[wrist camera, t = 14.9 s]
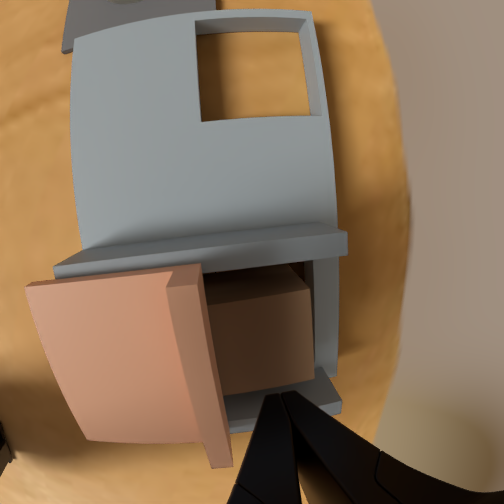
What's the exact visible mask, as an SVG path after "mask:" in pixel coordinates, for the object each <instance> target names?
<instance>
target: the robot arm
mask: <svg viewBox="0 0 504 504" xmlns="http://www.w3.org/2000/svg"><path fill="white" fill-rule="evenodd" d="M12 460H13V459H12V456H11V453H10V451H9V448H8V445H7V442H6V439H5V435H4V432H3V429H2V425H1V423H0V476H1V475H2V473H3V471H4V469H5V467H6V465H7V463H8V462H9V463H11V462H12ZM299 481H300V484H301V486H302V489H303V491H304V494H305V496H306V498H307V501H308V503H309V504H504V490H503V491H496V492H485V493H484V492H474V491H469V490H466V489H463V488H460V487H457V486H454V485H452V484H449V483H446V482H444V481H441V480H438V479H436V478H434V477H431V476H429V475H426V474H424V473H422V472H420V471H417V470H415V469H413V468H411V467H409V466H407V465H405V464H404V463H402V462H400V461H398V460H396V459H395V458H393V457H391V456H390V455H388V454H387V453H385V452H384V451H380V449H379V448H377V447H376V446H374V445H373V444H371V443H369V442H368V441H366V440H365V439H363V438H362V437H360V436H359V435H357V434H356V433H355V432H353V431H352V430H350V429H349V428H347V427H346V426H344V425H343V424H341V423H340V422H339V421H337V420H336V419H334V418H333V417H332V416H330V415H329V414H327V413H326V412H325V411H323V410H322V409H320V408H319V407H318V406H316V405H315V404H314V403H312V402H311V401H310V400H308V399H307V398H305V397H304V396H303V395H301V394H300V393H299V392H298V391H296V390H290V391H285V392H282V393H281V394H280V393H273V394H267V395H265V396H264V399H263V402H262V405H261V408H260V411H259V415H258V418H257V421H256V424H255V427H254V430H253V433H252V436H251V439H250V442H249V445H248V448H247V450H246V453H245V456H244V459H243V462H242V465H241V468H240V470H239V473H238V476H237V479H236V482H235V483H236V484H234V486H233V489H232V492H231V494H230V497H229V499H228V502H227V504H302V501H301V493H300V485H299Z"/></svg>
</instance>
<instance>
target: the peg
mask: <svg viewBox="0 0 504 504" xmlns="http://www.w3.org/2000/svg"><path fill="white" fill-rule="evenodd" d="M108 1H109V2H112V3H115V4H131V3H136V2H140V1H143V0H108Z"/></svg>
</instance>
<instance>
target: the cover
mask: <svg viewBox="0 0 504 504" xmlns="http://www.w3.org/2000/svg"><path fill="white" fill-rule="evenodd" d="M24 288H25V292H26V296H27V300H28V303H29V306H30V310H31V313H32V316H33V320H34V323H35V326H36V329H37V332H38V335H39V337H40V340H41V343H42V346H43V348H44V351H45V354H46V356H47V359H48V361H49V364H50V366H51V369H52V371H53V373H54V376H55V378H56V380H57V382H58V385H59V387H60V389H61V391H62V393H63V395H64V398H65V400H66V402H67V404H68V406H69V408H70V410H71V412H72V414H73V415H74V417H75V419H76V421H77V423H78V425H79V427H80V428H81V430H82V432H83V434H84V435H85V437H86V439H87V440H91V441H102V442H116V443H141V444H171V443H196V442H203V444H204V447H205V450H206V453H207V456H208V459H209V462H210V465H211V468H212V469H214V468H226V467H233V458H232V449H231V439H230V429H229V424H228V420H227V415H226V410H225V405H224V400H223V395H222V390H221V384H220V379H219V374H218V368H217V363H216V357H215V351H214V346H213V340H212V334H211V328H210V322H209V315H208V309H207V302H206V296H205V289H204V282H203V275H202V268H201V263H197V264H188V265H180V266H171V267H162V268H153V269H145V270H136V271H127V272H118V273H109V274H100V275H91V276H82V277H73V278H64V279H55V280H46V281H37V282H31V283H30V284H28V285H27V286H25V287H24Z"/></svg>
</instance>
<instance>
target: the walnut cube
mask: <svg viewBox="0 0 504 504" xmlns="http://www.w3.org/2000/svg"><path fill="white" fill-rule="evenodd" d="M203 282H204V289H205V296H206V302H207V309H208V315H209V322H210V328H211V334H212V340H213V346H214V351H215V357H216V363H217V368H218V374H219V379H220V384H221V390H222V395H223V396H225V395H232V394H239V393H245V392H252V391H257V390H263V389H268V388H274V387H279V386H284V385H289V384H293V383H298V382H303V381H307V380H311V379H315V375H314V349H313V329H312V311H311V296H310V288H309V287H308V286H307V285H306V284H305V283H304V282H303V281H302V279H301V278H300V277H299V276H298V275H297V274H296V273H295V272H294V271H293V270H292V269H291V268H290V267H289V265H288V264H287V263H284V264H276V265H268V266H260V267H252V268H244V269H238V270H232V271H225V272H218V273H212V274H205V275H203Z"/></svg>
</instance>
